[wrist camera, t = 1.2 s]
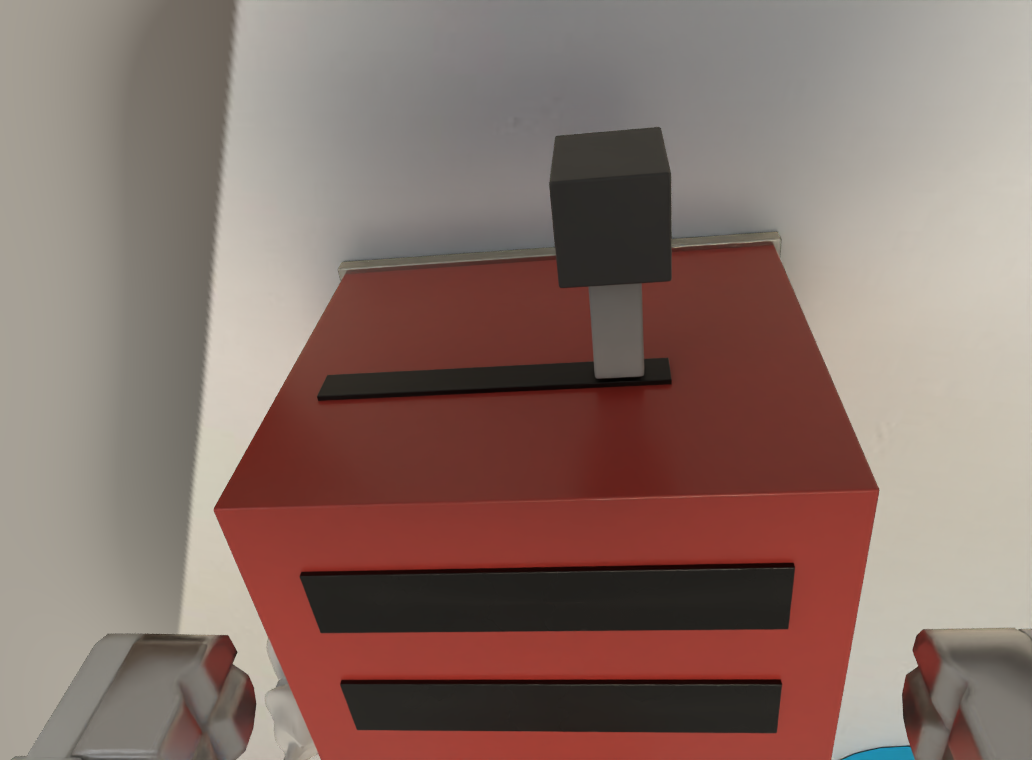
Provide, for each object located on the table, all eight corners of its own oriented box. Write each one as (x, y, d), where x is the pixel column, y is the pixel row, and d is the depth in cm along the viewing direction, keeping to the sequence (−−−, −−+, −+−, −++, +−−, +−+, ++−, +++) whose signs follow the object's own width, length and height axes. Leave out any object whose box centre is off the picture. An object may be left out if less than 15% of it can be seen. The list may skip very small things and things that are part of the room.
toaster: (341, 261, 28) (197, 507, 18) (778, 230, 26) (895, 487, 16) (399, 490, 33) (316, 775, 23) (760, 479, 31) (837, 783, 21)
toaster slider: (554, 135, 19) (548, 182, 16) (661, 125, 18) (670, 172, 16) (572, 336, 22) (569, 402, 19) (663, 331, 21) (672, 398, 19)
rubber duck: (300, 558, 36) (234, 721, 30) (438, 606, 37) (404, 774, 31) (272, 628, 39) (206, 791, 32) (400, 671, 40) (362, 836, 34)
